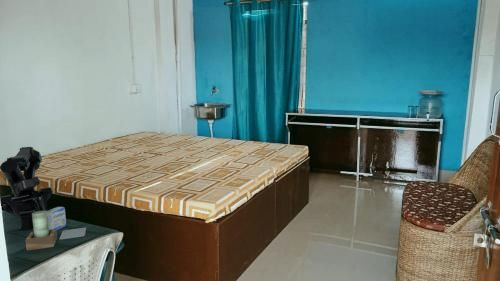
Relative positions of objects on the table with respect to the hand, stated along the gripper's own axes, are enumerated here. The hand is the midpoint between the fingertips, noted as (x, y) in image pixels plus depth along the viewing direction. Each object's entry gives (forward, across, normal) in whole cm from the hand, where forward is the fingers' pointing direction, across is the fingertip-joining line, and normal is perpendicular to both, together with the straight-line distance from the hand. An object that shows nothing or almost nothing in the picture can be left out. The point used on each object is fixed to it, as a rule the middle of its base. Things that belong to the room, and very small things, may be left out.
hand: (34, 215), depth 140 cm
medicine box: (+2, +12, +14) cm, 18 cm away
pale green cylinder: (+10, 0, +5) cm, 11 cm away
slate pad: (+10, +12, +5) cm, 17 cm away
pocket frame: (+10, 0, +5) cm, 11 cm away
